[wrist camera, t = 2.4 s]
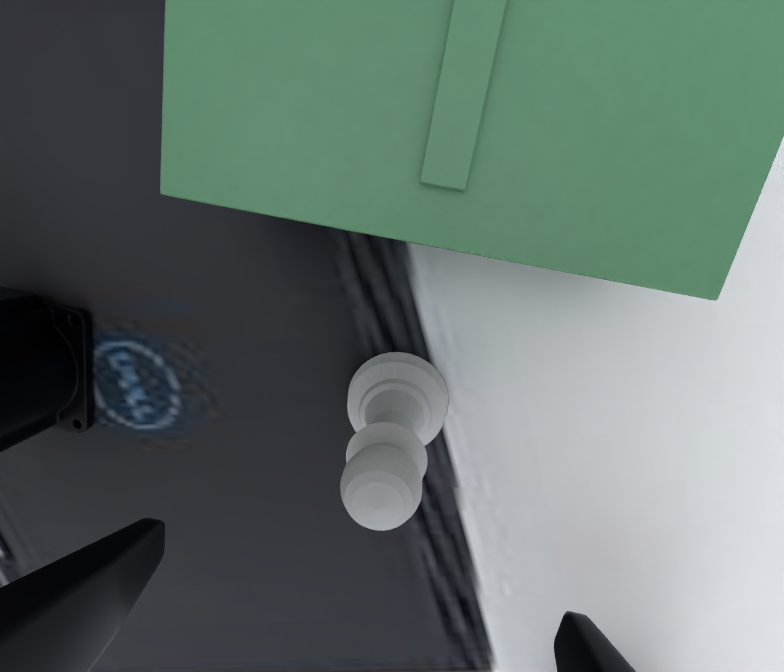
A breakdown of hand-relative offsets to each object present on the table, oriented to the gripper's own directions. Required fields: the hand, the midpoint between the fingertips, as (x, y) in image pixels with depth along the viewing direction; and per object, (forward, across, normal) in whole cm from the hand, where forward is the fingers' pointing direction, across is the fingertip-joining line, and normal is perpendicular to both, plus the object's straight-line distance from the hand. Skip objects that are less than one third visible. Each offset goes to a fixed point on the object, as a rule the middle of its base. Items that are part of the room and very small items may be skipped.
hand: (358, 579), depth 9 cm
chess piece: (+11, 0, 0) cm, 11 cm away
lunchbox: (+10, 0, -12) cm, 16 cm away
